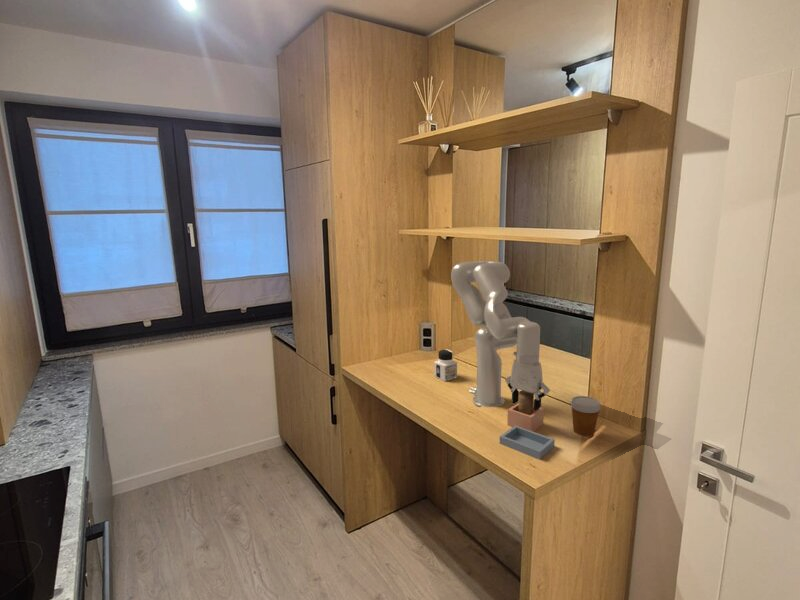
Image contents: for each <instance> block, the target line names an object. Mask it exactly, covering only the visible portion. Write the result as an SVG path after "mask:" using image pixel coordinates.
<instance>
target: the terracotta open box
mask: <svg viewBox="0 0 800 600" xmlns="http://www.w3.org/2000/svg"><path fill="white" fill-rule="evenodd" d="M518 408H519V402H516V403H515V404H514V405H513V406H511V407H510V408H508V409H507V427H511V428H512V427H514V426H515V425H516V426H519V427H521V428H524V429H527V430H530V431H533V432H536V430H538V429H539V428H540V427H542V426H543V425H544V416H545V414H544V411H545V408H543V407H542V406H541V407H540V408H539V409H538V410H536V411H535V410H534V404H533V414H532V415H527V414H524V413H521V412H518Z"/></svg>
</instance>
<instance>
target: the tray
mask: <svg viewBox="0 0 800 600" xmlns="http://www.w3.org/2000/svg"><path fill="white" fill-rule="evenodd" d="M555 440H556V439H554V438H552V437H549V436H546V435H543V434H541V433H538V432H536V431H534V432H533V431H530V430H527V429H524V428H521V427H519V426H516V425H515V426H514V427H511V428H509V429H508V430H507V431H505V432H504V433H502V434H501V435H500V436H499V444H500V445H503V446H505V447H507V448H510V449H512V450H515V451H517V452H520V453H521V454H524V455H527V456H530V457H531V458H535V459H537V460H541V459H542V458H543V457H544V456H546V454H548V453H549V452H550V451H552V449H553V448H555Z"/></svg>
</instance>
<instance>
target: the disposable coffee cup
mask: <svg viewBox="0 0 800 600" xmlns="http://www.w3.org/2000/svg"><path fill="white" fill-rule="evenodd" d="M570 405H571V406H570V407H571V415H572V428H573V432H574V434H577V435H579V436H582V437H588V439H591V438H594V434H595V432H596V431H595V430H596V427H597V421H598V417H599V413H600V410H601V408H602V407H601V404H600V401H599V400H598V399H596V398H594V397H591V396H587V395H586V396H585V395H577V396H574V397H573V398H571V400H570Z"/></svg>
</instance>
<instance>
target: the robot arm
mask: <svg viewBox="0 0 800 600" xmlns="http://www.w3.org/2000/svg"><path fill="white" fill-rule="evenodd" d="M450 277H451V284H452V287H453V288H454V290H455V292H456V293H457V295H458V296H459V298H460V299H461V301H462V303H463V306H464V309H465V311H466V314H467V316H468V318H469V321H470V322H471V324H472V325H473V326H475V327H480V328H479V329H477V330H476V332H475V334H474V342H475V347H476V365H477V366H476V387H475V386H470V389H469V393H470V394H472V395H474V397H473V398H472V402H473V404H474V405H475V406H476V407H479V408H481V407H484V408H497V407H500V406H503V405H504V404H505V402H506V400H505V398H504V397H502V369H503V367H502V366H503V365H502V364H503V363H502V358H501V356H500V355H499V353H498V350H502V349H507V348H513V347H514V346H516V350H515V351H513V353H512V355H513V356H515V359H514V360H513V363H512V367H511V373H510V375H509V376H508V377H506V378H505V383H506V384H507V387H508V388H509V389H510V392H511V400H512V402H511V403H512V404H517V403H519V391H522V390H523V391H526V392H530V393H533V394H534V403H533V405H534V410H535V411H536V410H538V409H539V408H540V407H541V408H542V398H544V397H545V396H546V395H548V394H549V392H551V389H550V388H549V386H547V385H546V384H545V383H544V382H543V369H542V368H543V367H542V365H541V364H542V363H541V362H540V349H541V348H540V347H541V346H540V345H541V344H540V343H541V326H540V325H539V323H537V322H534V321H530V320H529V319H528V318H526V317H525V316H524V317H523V316H514V317H512V315H511V313H510V312H509V309H508V307H507V306H506V305H505V304H504V303H503V302H504V301H505V300H506V299H507V297H508V295H509V293H508V290H507V289H506V287H505V285H504V283H505V284H506V283H507V282H508V281H509V280H510V278H511V271H510V269H509V267H508V265H507V264H506V263H504V262H501V261H495V260H494V261H493V260H479V261H478V260H477V261H463V262H459V263H457V264H455V265H454V266H453V267H452V268H451V273H450ZM472 283H476V285H477V286H478V288H477V286H475V285H473V284H472ZM541 390H542V391H541Z"/></svg>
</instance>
